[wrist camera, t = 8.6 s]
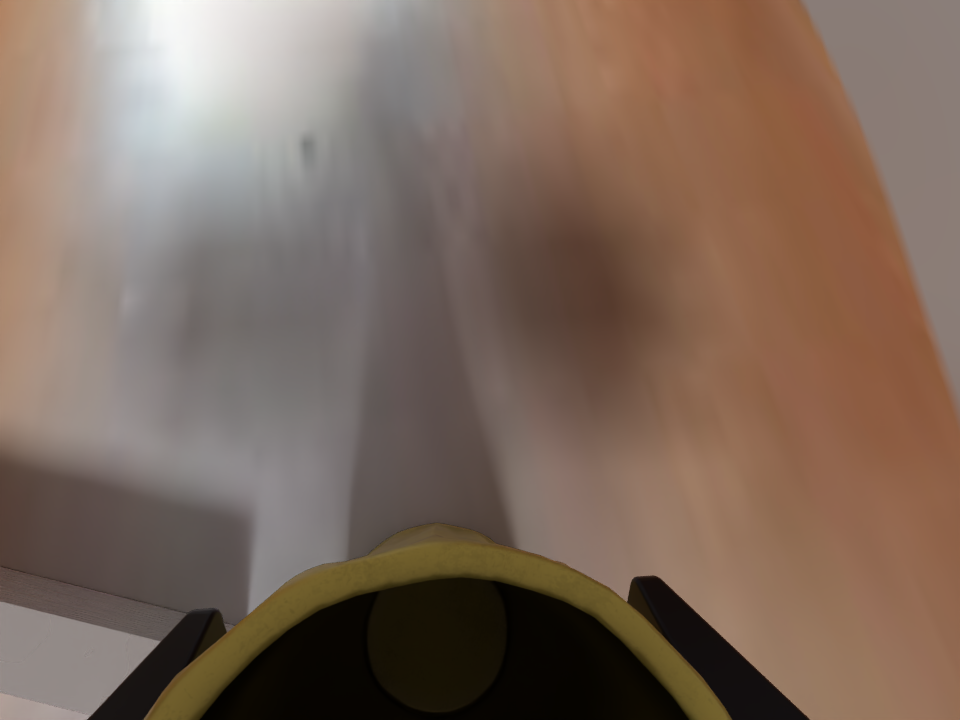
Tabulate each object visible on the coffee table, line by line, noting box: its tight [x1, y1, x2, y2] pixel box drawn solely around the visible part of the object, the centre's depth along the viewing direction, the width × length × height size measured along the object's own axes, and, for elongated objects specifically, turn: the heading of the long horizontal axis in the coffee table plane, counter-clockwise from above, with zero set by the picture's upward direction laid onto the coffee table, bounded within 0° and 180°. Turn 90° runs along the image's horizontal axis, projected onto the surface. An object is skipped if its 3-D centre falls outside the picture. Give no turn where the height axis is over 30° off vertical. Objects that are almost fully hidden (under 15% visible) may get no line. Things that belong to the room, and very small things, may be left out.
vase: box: [144, 523, 732, 720], centre depth 11 cm, size 6×6×14 cm
